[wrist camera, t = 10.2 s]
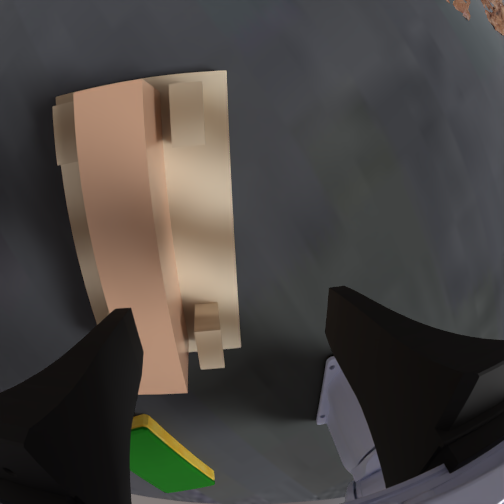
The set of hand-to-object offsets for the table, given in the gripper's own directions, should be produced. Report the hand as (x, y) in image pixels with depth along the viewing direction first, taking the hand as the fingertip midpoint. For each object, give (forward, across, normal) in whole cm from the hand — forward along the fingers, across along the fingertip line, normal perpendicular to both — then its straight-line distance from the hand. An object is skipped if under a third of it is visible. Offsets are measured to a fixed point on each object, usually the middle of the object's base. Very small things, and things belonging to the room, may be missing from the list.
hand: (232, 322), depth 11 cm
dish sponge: (+10, +10, +24) cm, 28 cm away
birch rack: (+9, +4, -1) cm, 10 cm away
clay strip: (+8, +4, -1) cm, 9 cm away
